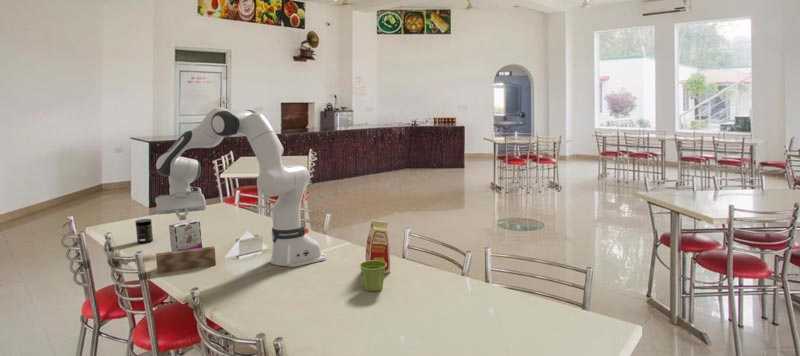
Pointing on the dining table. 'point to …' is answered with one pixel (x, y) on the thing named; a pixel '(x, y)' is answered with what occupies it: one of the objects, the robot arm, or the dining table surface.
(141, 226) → the supplement container
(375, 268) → the plant pot
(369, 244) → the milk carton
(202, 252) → the walnut board
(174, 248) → the candy bar box
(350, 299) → the dining table surface
